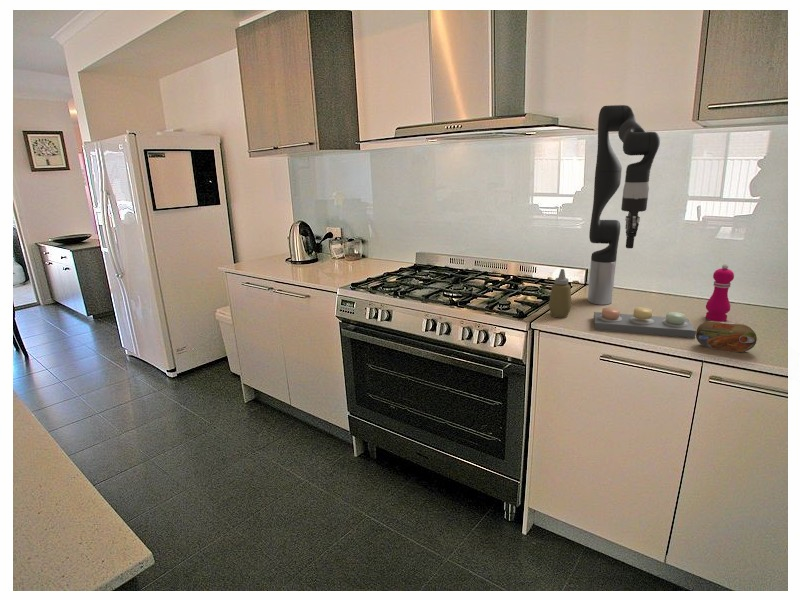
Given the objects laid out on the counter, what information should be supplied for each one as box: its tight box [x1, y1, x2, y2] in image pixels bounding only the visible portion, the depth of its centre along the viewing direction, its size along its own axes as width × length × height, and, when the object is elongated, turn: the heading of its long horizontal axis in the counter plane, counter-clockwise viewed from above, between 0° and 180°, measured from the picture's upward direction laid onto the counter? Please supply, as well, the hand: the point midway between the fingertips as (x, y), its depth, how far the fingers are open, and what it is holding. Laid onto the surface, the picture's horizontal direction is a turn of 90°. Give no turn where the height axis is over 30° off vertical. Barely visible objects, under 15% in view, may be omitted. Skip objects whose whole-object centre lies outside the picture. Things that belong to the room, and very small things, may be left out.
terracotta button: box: [601, 307, 621, 319], centre depth 161 cm, size 6×6×2 cm
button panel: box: [593, 311, 697, 339], centre depth 159 cm, size 12×30×3 cm, turn 70°
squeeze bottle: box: [548, 268, 572, 319], centre depth 171 cm, size 8×8×18 cm
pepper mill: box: [705, 264, 735, 322], centre depth 162 cm, size 7×7×20 cm
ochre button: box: [632, 306, 653, 319], centre depth 158 cm, size 6×6×2 cm
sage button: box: [665, 311, 687, 324], centre depth 155 cm, size 6×6×2 cm
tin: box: [695, 320, 758, 353], centre depth 139 cm, size 15×3×8 cm, turn 59°
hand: (629, 247), depth 157 cm, fingers closed
